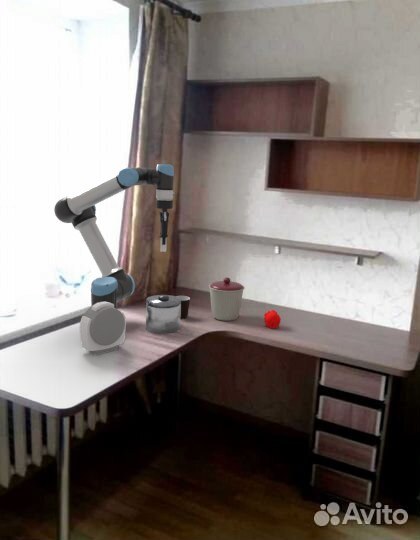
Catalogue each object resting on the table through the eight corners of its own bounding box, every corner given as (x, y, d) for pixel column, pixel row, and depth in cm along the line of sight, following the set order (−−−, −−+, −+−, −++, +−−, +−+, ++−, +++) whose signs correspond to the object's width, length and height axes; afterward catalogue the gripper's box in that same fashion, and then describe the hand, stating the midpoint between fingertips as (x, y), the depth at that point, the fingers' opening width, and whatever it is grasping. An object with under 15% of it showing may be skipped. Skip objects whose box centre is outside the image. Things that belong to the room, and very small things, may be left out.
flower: (263, 319, 240) (261, 313, 247) (268, 333, 241) (266, 327, 249) (278, 313, 239) (276, 307, 247) (284, 327, 241) (281, 321, 249)
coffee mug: (189, 320, 251) (189, 300, 248) (171, 319, 251) (172, 300, 249) (190, 313, 262) (191, 294, 260) (173, 312, 262) (174, 294, 260)
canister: (208, 311, 266) (209, 272, 261) (242, 313, 265) (244, 274, 261) (206, 322, 248) (208, 280, 244) (243, 324, 248) (245, 282, 243)
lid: (147, 307, 225) (147, 301, 225) (145, 298, 241) (145, 291, 240) (182, 307, 228) (183, 300, 228) (178, 297, 244) (178, 291, 243)
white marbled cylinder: (147, 334, 228) (147, 308, 225) (144, 322, 245) (145, 298, 242) (182, 333, 231) (182, 308, 228) (177, 321, 248) (178, 297, 245)
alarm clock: (116, 342, 216) (116, 297, 212) (127, 348, 210) (127, 301, 206) (78, 352, 204) (77, 304, 200) (89, 358, 198) (88, 309, 194)
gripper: (174, 200, 220) (172, 254, 225) (171, 198, 232) (170, 249, 237) (157, 200, 218) (156, 253, 223) (155, 198, 231) (154, 248, 236)
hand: (163, 251), depth 230 cm, fingers closed
